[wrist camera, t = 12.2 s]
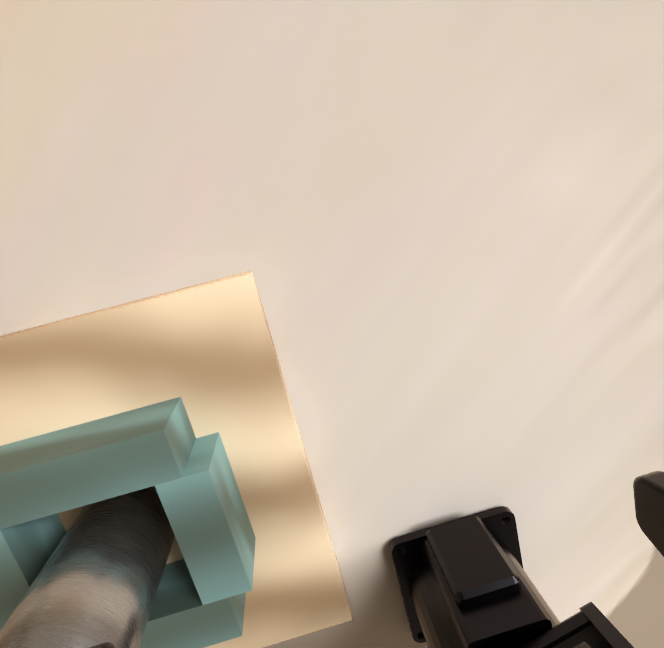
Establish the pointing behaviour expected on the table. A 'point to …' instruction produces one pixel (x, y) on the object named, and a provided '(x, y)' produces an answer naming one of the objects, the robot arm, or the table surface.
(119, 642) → the steel pin
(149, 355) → the socket board
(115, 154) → the table surface
